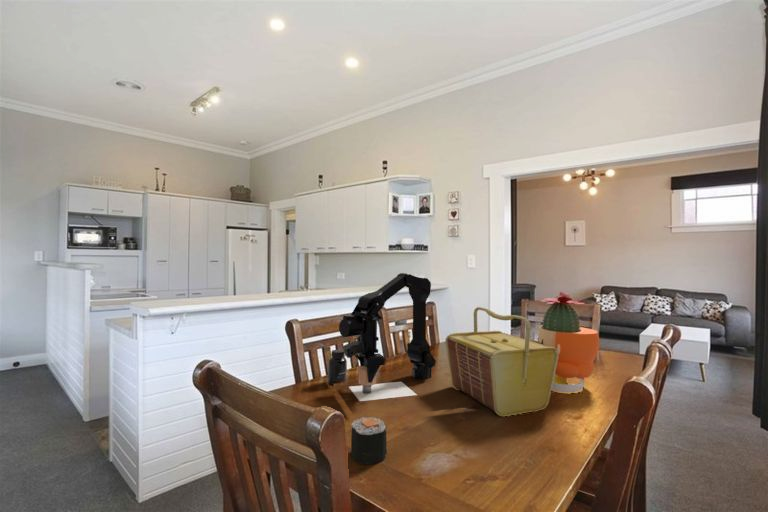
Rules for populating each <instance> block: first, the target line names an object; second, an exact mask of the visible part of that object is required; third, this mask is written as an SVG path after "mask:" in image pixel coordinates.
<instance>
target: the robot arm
mask: <svg viewBox="0 0 768 512" xmlns="http://www.w3.org/2000/svg"><path fill="white" fill-rule="evenodd" d="M431 287H432V282H431V280H429V279H428V278H426V277H419V276H415V275H412V274H410V273H408V272H407V273H406V272H405V273H404V272H400V273H398V274H397V275H396V276H395V277H393V278H392V279H391V280H389V281H388V282H387V283H385V284H384V285H383V286H381V287H380V288H379V289H377V290H375V291H373V292H369V293H366V294H364V295H362V296H360V297H359V299H358V301H357V303H356V306H355V307H354V308H353V310H352V312H351V314H350V315H343V316H342V320H340V323H339V325H338V331H339V334H340V336H341V337H343V338H350V337H356V336H357V339H356V340H353V341H351V342H349V343H346V344H345V345H343V346H342V350H344V355H345V356H344V357H346V359H351V358H353V357H356V359H357V360H358V361H359V365H360V367H361V366H366V368H367V376H368V382H369V383H371V382H372V381H373V379H374V377H375V375H376V376H377V373H378V371H379V369H380V367H381V366H385V365H386V358H385V356H383V355H382V354H381V353H379V349H378V348H377V345H378V343H377V342H379V338H380V337H378V321H379V320H380V321H381V320H382V319H383V317H382V316H381V315H380V314H379V312H380V311H381V310H382V309H383V308H384V306H385V304H386V302H387V301H388V300H389V299H391V298H392V297H393V296H394V295H396V294H397V293H398V292H400V291H401V290H403V289H404V288H407V289H408V294H409V296H410V298H411V300H412V339H411V340H410V342H407V343H406V347H407V350H406V354H407V356H408V359H409V361H410V364H413V365H412V367H413V368H411V369H412V370H411V371H412V372H411V378H413V379H415V380H429V379H431V378H432V368H433V367H435V365H436V362H437V359H436V358H434V356H433V355H432V354H431V346H430V344H429V342H428V341H427V300H428V299H429V297H430V295H431V291H432V289H431Z"/></svg>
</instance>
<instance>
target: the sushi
mask: <svg viewBox="0 0 768 512" xmlns="http://www.w3.org/2000/svg"><path fill="white" fill-rule="evenodd" d="M350 424H351V437H350V438H351V439H350V440H351V444H350V445H351V446H350V449H351V450H350V453H351V455H350V456H351V457H352V458H353V459H354V460H355V462H357V463H358V464H360V465H367V466H368V465H372V464H373V465H374V464H376V463H380V462H383V461H384V460H385V459H386V455H387V454H388V453H387V425H385V423H384V421H383V420H381V419H380V418H376V417H374V416H373V417H365V416H364V417H362V416H361V417H360V419H359V418H357V419H355V420H353V422H351V423H350Z"/></svg>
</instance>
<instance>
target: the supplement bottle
mask: <svg viewBox="0 0 768 512" xmlns="http://www.w3.org/2000/svg"><path fill="white" fill-rule="evenodd" d="M327 365H328V366H327V383H328V385H329V386H334V387H335V384H334V383H343V382H346V380H347V367H348V361H347V358H346V356H345V353H344V350H343V349H332V350H331V354H330V358H329V359H328V364H327Z"/></svg>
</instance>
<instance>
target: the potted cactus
mask: <svg viewBox="0 0 768 512" xmlns="http://www.w3.org/2000/svg"><path fill="white" fill-rule="evenodd" d="M539 302H540V303H546V305H549V306H548V307H547V309H545V313H544V314H543V316H542V315H541V318H542V319H541V321H542V323H540V326H539V327H538V332H537V333H538V334H537V341H538V342H537V343H539V344H542V345H545V346H549V347H554V348H556V349H557V351H558V353H559V356H558V361H557V366H556V371H555V375H554V380H553V385H552V390H555V391H561V392H575V391H579V390H581V389H583V387H584V388H585V379H586V378H589V377H590V376H592V374H593V373H594V369H595V364H594V361H595V359H596V358H597V356H598V354H599V350H600V344H601V343H600V337H599V331H597V330H596V329H591V328H588V327H582V326H581V325H582V323H581V322H582V319H580V315H579V313H578V311H576V310H577V307H576V308H574V305H578V306H583V305H584V306H585V305H586V303H585V302H579V300H573V299H572V298H571V297H570V294H569V293H567V292H563V291H562V292H561V291H560V292H559V294H558V295H557V296H556V297H547V298H542V300H539ZM567 378H574V379H577V380H579V381H580V382H581V383H578V384H572V385H568V381H567Z"/></svg>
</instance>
